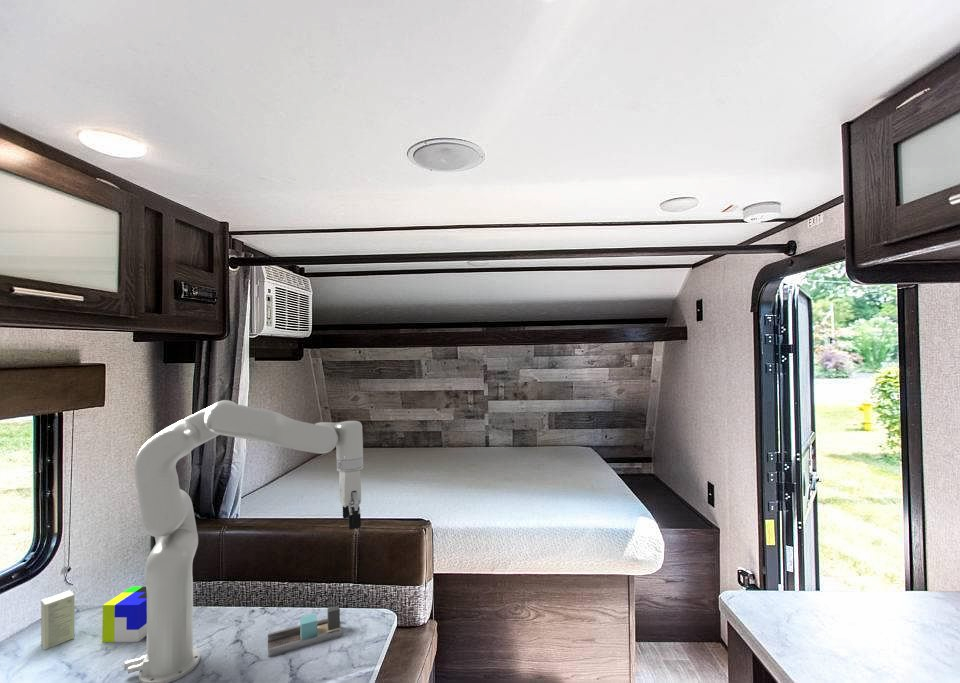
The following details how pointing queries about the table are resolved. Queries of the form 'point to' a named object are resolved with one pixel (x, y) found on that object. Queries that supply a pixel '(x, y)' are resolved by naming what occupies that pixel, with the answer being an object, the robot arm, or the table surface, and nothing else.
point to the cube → (308, 626)
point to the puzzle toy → (126, 616)
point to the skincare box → (57, 619)
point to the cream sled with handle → (330, 621)
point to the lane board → (299, 643)
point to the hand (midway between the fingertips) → (351, 522)
